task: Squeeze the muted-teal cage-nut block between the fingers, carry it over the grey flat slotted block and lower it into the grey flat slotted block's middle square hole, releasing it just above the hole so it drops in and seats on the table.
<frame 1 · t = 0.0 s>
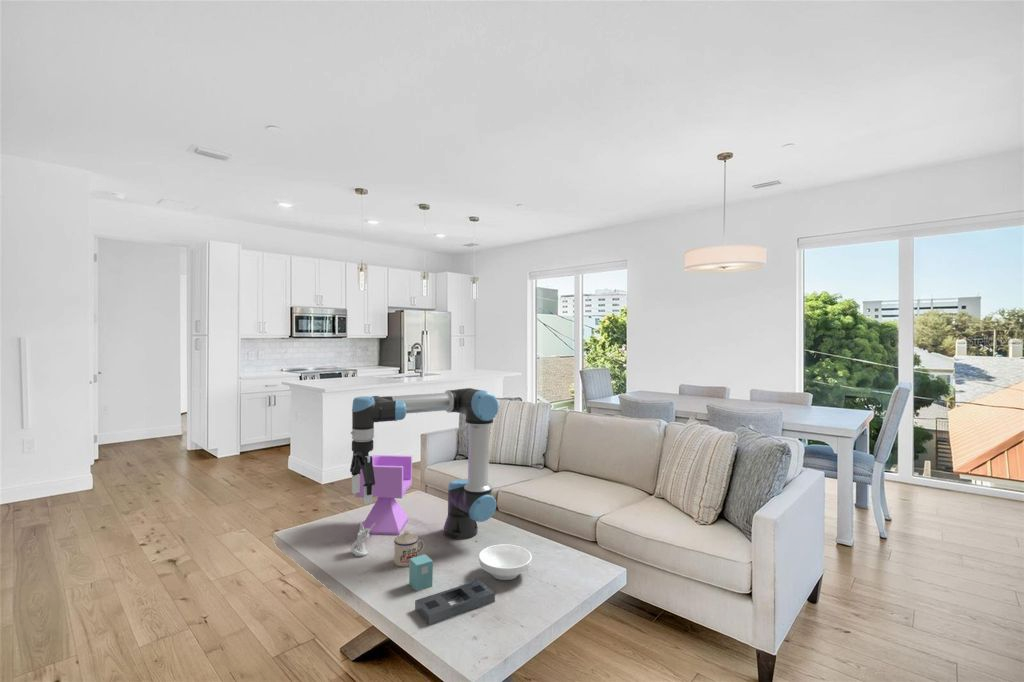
hand: (361, 498, 177), 28 cm above the table, fingers open, 13 cm apart
figurine: (364, 552, 195), on the table
teacup with lid: (409, 561, 188), on the table
grey flat slotted block: (455, 605, 158), on the table
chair: (384, 526, 221), on the table
bowl: (504, 575, 179), on the table
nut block: (420, 585, 171), on the table
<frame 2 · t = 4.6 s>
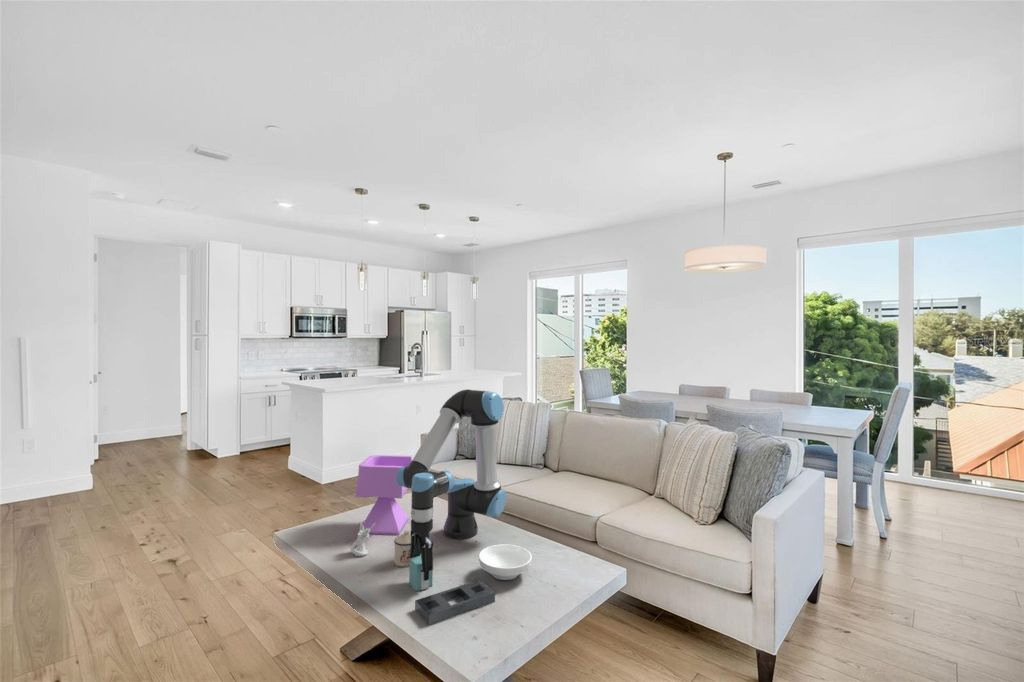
hand: (420, 584, 171), 0 cm above the table, fingers closed on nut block, 6 cm apart
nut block: (420, 585, 171), on the table, touching gripper
everything else where it was.
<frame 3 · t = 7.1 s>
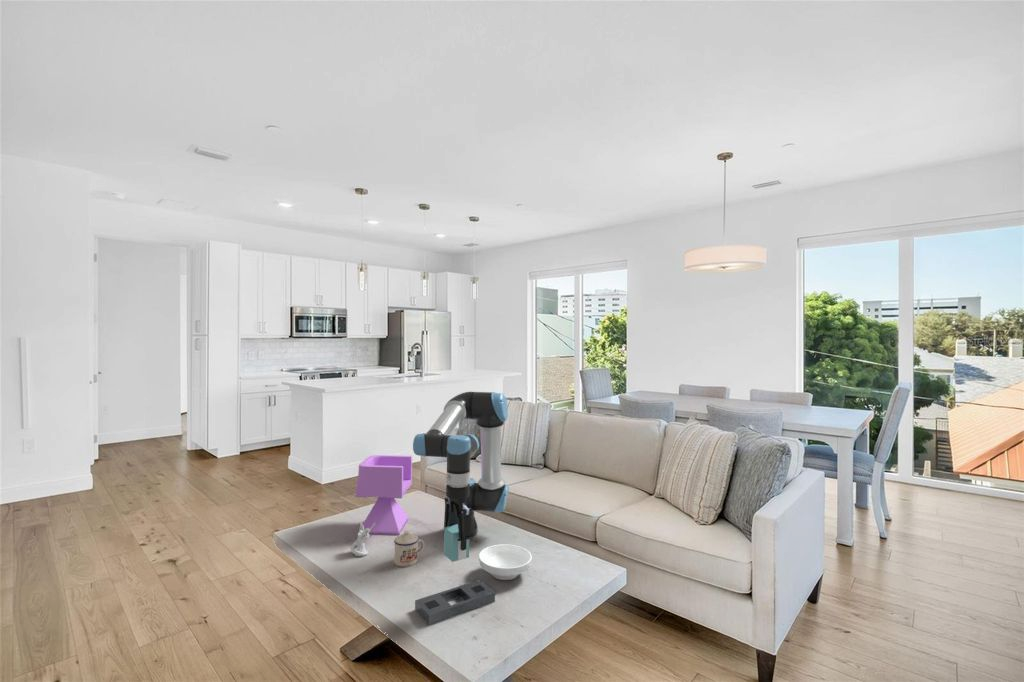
hand: (456, 554, 158), 17 cm above the table, fingers closed on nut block, 6 cm apart
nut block: (456, 555, 158), point 16 cm above the table, touching gripper
everything else where it was.
when the fingers open (4 cm above the table, at t = 10.0 s): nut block drops 4 cm, resting in grey flat slotted block.
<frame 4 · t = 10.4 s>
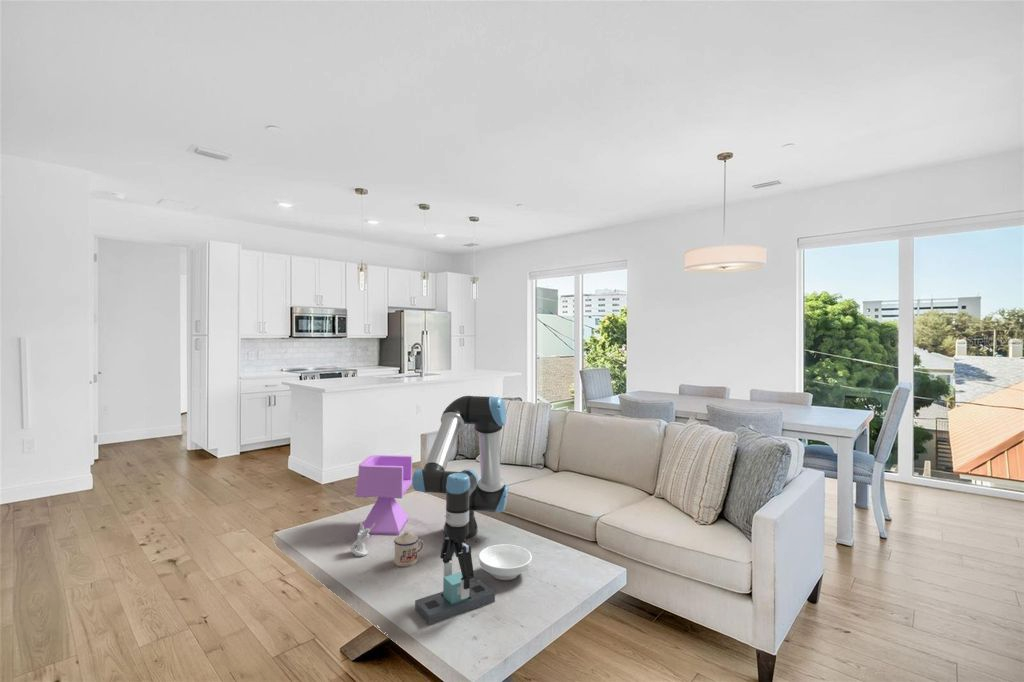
hand: (455, 589, 158), 5 cm above the table, fingers open, 11 cm apart
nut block: (455, 605, 158), resting in grey flat slotted block
everything else where it was.
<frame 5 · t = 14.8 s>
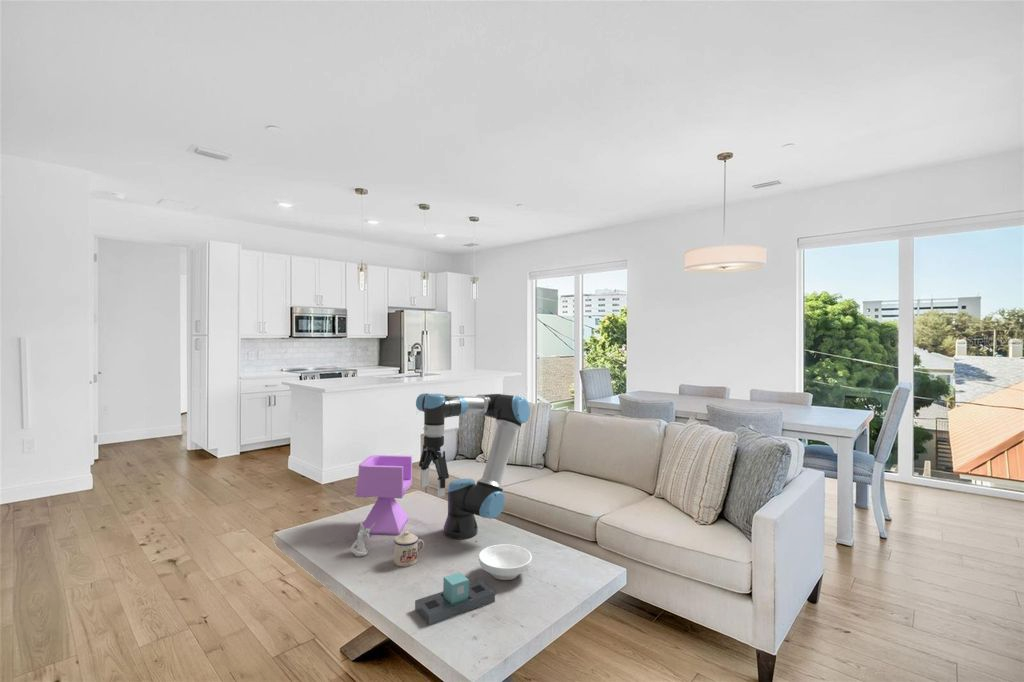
hand: (432, 491, 184), 29 cm above the table, fingers open, 13 cm apart
nothing on the table moved.
at the end: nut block 0.0 cm off-centre on the grey flat slotted block, point 0.0 cm above the grey flat slotted block's base; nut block tilted 0°; the gripper is holding nothing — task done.
